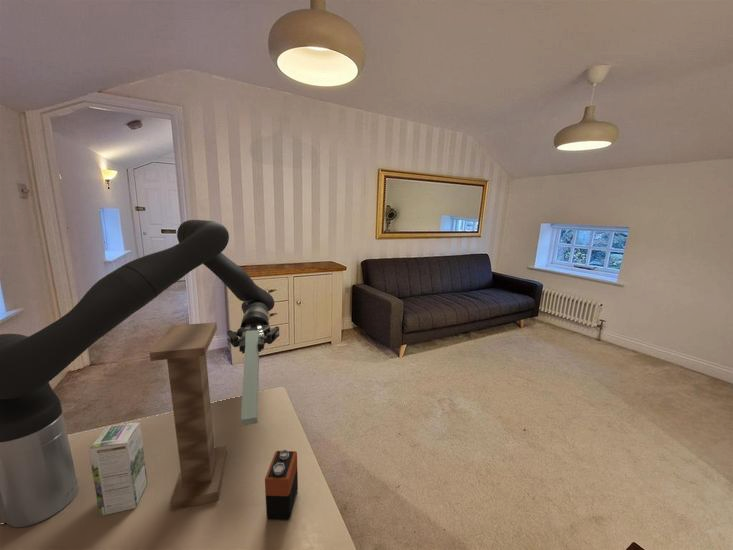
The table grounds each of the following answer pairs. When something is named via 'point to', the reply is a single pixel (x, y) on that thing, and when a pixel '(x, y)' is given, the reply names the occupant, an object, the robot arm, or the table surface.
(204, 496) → the stand
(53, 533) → the table surface
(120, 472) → the syrup box
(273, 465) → the battery
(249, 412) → the peg
